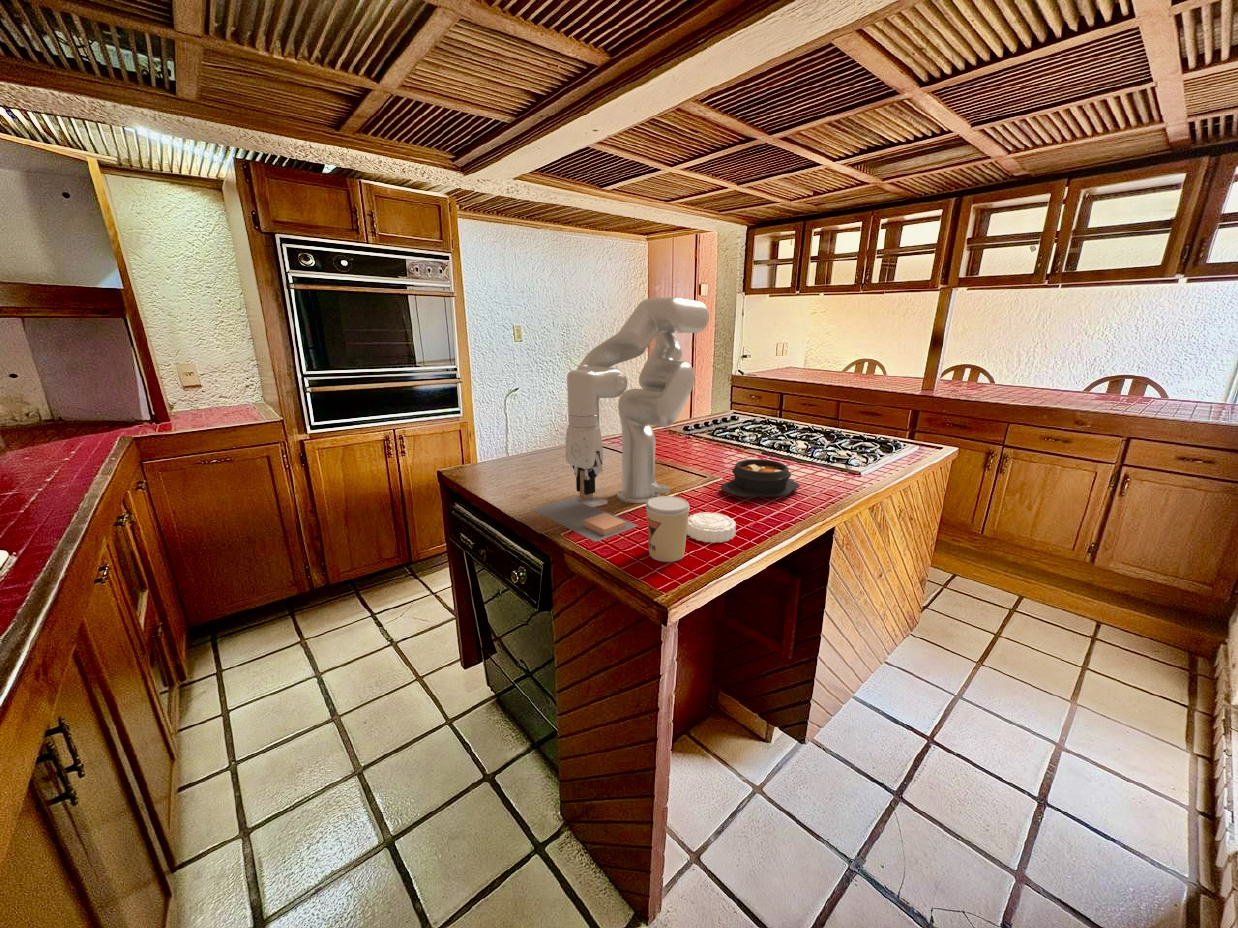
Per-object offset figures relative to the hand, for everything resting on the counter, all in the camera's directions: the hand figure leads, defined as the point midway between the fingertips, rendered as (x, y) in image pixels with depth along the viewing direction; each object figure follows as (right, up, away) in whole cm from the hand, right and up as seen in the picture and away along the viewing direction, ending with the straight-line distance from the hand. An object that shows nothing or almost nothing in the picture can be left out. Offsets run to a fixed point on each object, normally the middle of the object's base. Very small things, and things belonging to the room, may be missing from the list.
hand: (585, 491), depth 123 cm
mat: (-1, -7, +3) cm, 8 cm away
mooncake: (+31, -10, -6) cm, 33 cm away
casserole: (+51, -2, +23) cm, 56 cm away
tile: (+2, -7, -1) cm, 7 cm away
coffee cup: (+19, -13, -17) cm, 28 cm away
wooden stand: (+1, -3, -1) cm, 3 cm away
